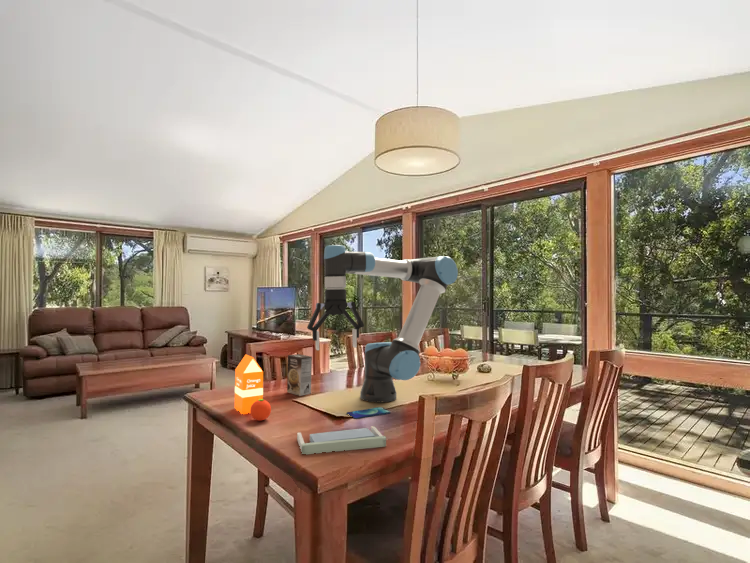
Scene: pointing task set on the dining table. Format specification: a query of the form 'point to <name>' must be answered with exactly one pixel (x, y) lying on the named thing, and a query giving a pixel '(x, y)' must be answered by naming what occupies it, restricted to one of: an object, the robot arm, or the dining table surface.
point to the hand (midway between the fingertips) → (336, 348)
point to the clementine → (260, 410)
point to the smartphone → (368, 412)
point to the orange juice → (248, 384)
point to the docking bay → (342, 443)
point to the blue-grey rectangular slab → (341, 435)
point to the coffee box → (299, 374)
